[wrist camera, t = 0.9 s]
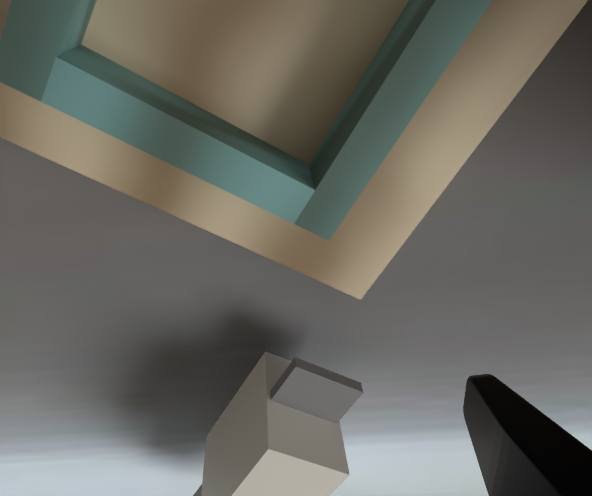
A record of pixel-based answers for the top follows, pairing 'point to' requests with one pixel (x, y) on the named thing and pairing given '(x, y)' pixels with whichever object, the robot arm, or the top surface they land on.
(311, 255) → the tray
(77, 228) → the top surface
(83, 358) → the top surface
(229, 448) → the block
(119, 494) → the top surface
